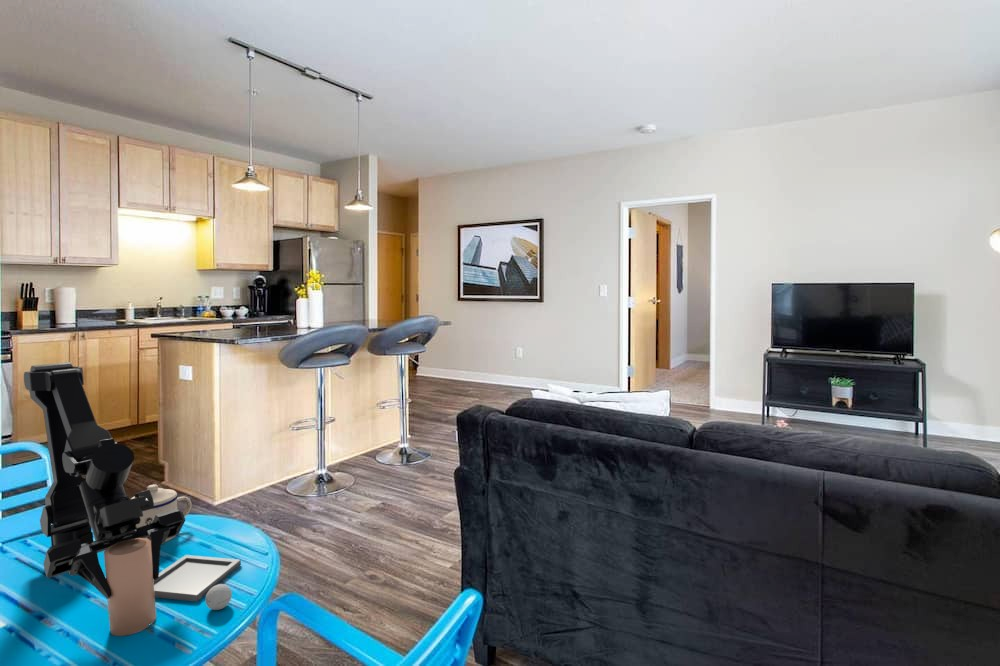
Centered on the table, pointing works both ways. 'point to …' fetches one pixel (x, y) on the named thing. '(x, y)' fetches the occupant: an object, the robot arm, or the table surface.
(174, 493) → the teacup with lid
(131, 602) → the terracotta cup
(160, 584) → the charcoal tray
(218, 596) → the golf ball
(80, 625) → the table surface
